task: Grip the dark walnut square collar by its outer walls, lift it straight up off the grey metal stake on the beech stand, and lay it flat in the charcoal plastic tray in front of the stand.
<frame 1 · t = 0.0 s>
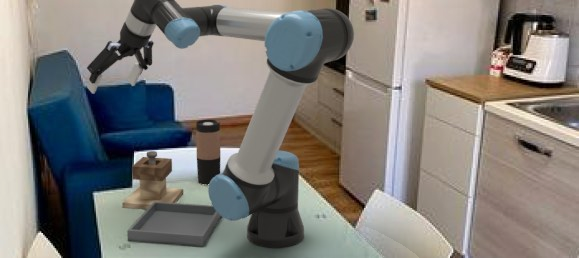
hand: (111, 86, 176), 36 cm above the table, tool tilted 35°, fingers open, 13 cm apart
collar: (152, 175, 189), point 8 cm above the table, touching stake stand
paper cup: (264, 182, 208), on the table
supplement bottle: (234, 191, 200), on the table
travel mug: (209, 182, 208), on the table
stake stand: (153, 200, 191), on the table
tray: (177, 228, 172), on the table
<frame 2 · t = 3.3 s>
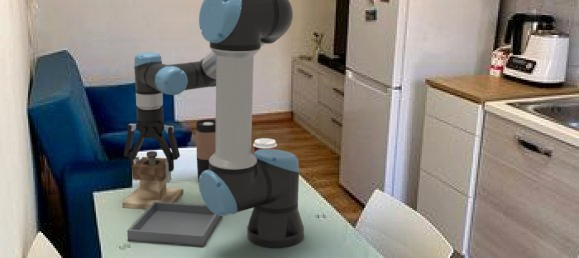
hand: (152, 180, 190), 6 cm above the table, tool pointing down, fingers closed on collar, 9 cm apart
collar: (152, 175, 189), point 8 cm above the table, touching gripper, stake stand
everything else where it was.
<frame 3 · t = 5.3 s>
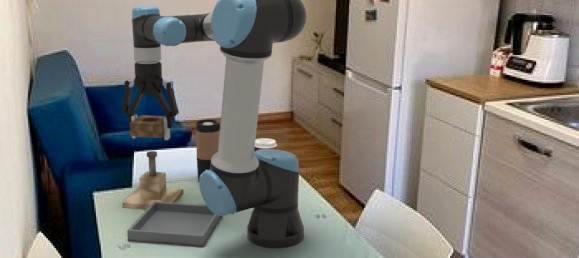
hand: (151, 137, 186), 20 cm above the table, tool pointing down, fingers closed on collar, 9 cm apart
collar: (151, 132, 186), point 21 cm above the table, touching gripper
everything else where it was.
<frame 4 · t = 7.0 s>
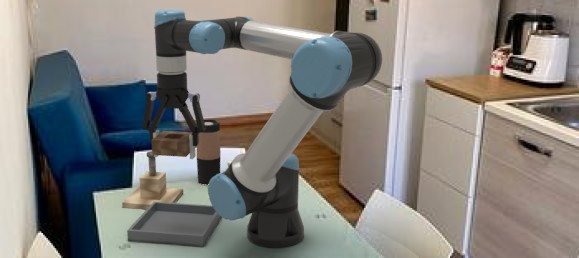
hand: (174, 156, 167), 20 cm above the table, tool pointing down, fingers closed on collar, 9 cm apart
collar: (174, 150, 167), point 22 cm above the table, touching gripper
everything else where it was.
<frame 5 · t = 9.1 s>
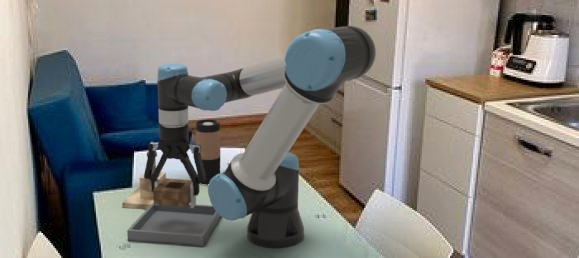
hand: (175, 204, 171), 7 cm above the table, tool pointing down, fingers closed on collar, 9 cm apart
collar: (175, 199, 170), point 8 cm above the table, touching gripper
everything else where it was.
when the fingers open (2 cm above the table, at t = 10.9 s): collar drops 3 cm, resting on tray.
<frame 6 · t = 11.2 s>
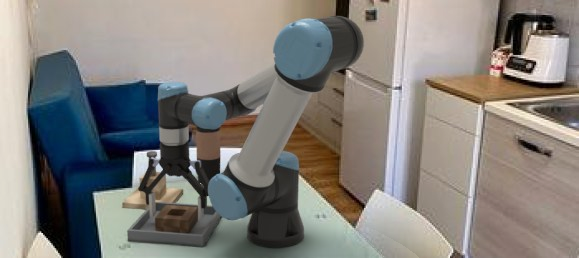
hand: (176, 217, 172), 3 cm above the table, tool pointing down, fingers open, 13 cm apart
collar: (177, 226, 172), point 1 cm above the table, touching tray
everything else where it was.
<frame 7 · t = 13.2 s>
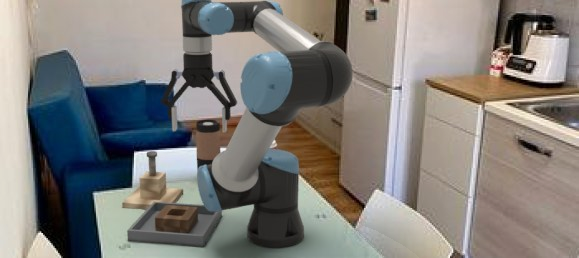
hand: (199, 130, 172), 26 cm above the table, tool pointing down, fingers open, 13 cm apart
nothing on the table moved.
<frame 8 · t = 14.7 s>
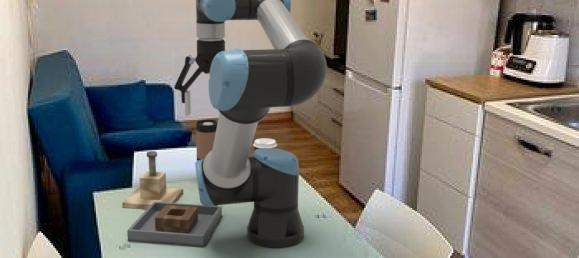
hand: (212, 116, 175), 29 cm above the table, tool pointing down, fingers open, 13 cm apart
nothing on the table moved.
at the end: collar inside the target area on the tray (0.0 cm from its centre), point 0.6 cm above the tray's base; collar tilted 0°; the gripper is holding nothing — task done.
